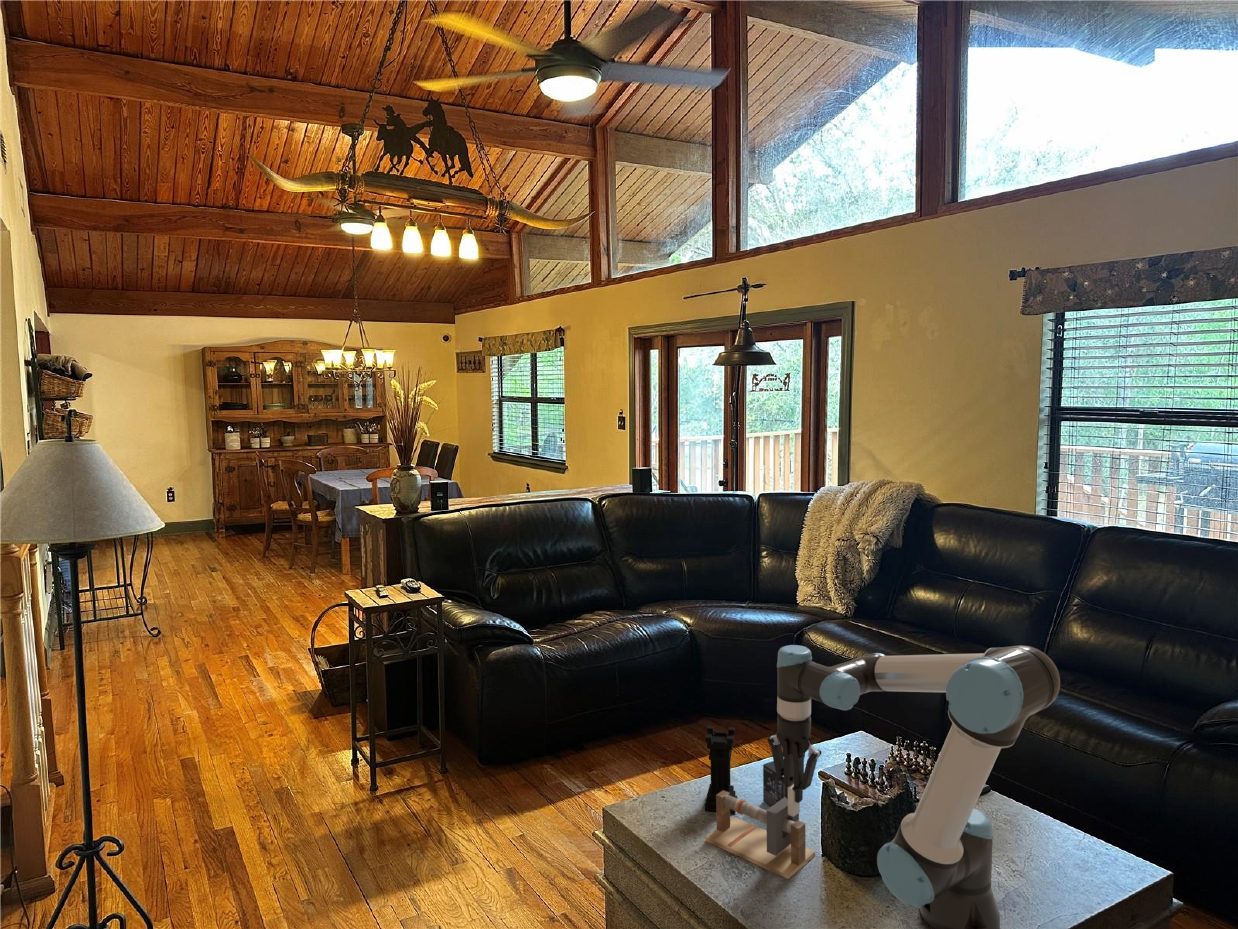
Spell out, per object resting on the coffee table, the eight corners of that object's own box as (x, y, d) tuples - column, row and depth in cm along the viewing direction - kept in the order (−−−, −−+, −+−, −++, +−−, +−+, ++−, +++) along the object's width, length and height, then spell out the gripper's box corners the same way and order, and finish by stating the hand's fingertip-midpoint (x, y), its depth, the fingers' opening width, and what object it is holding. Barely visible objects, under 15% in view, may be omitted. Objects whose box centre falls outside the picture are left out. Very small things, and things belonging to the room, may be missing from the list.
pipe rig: (815, 855, 185) (815, 814, 184) (788, 879, 176) (788, 836, 175) (734, 820, 201) (733, 782, 200) (705, 841, 192) (705, 801, 191)
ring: (798, 837, 186) (798, 797, 185) (776, 856, 179) (775, 814, 178) (789, 833, 188) (789, 793, 187) (766, 851, 181) (766, 810, 180)
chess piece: (735, 814, 204) (734, 740, 202) (704, 811, 205) (703, 738, 203) (737, 798, 211) (736, 726, 210) (707, 796, 213) (706, 725, 211)
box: (762, 802, 209) (762, 763, 208) (779, 796, 212) (779, 758, 211) (781, 815, 203) (781, 776, 202) (799, 810, 205) (798, 771, 204)
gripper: (828, 717, 177) (827, 817, 179) (778, 702, 186) (777, 797, 188) (811, 728, 171) (810, 830, 174) (760, 711, 180) (760, 809, 183)
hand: (793, 813), depth 181 cm, fingers closed
